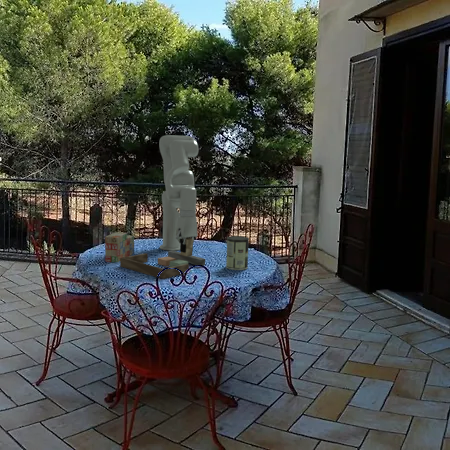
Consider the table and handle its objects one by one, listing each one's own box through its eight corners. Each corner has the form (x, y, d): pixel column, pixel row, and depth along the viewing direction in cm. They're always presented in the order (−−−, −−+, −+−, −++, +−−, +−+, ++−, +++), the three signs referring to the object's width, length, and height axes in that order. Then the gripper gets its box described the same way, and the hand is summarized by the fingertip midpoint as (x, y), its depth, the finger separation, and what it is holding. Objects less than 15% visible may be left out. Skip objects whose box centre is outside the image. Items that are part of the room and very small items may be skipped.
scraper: (173, 256, 248) (173, 234, 246) (205, 264, 234) (206, 241, 232) (167, 257, 245) (167, 235, 243) (200, 266, 231) (200, 243, 229)
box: (145, 261, 238) (146, 253, 238) (188, 272, 220) (188, 264, 220) (120, 266, 227) (120, 257, 226) (163, 279, 209) (163, 269, 208)
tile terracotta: (167, 262, 239) (167, 256, 239) (175, 265, 235) (176, 258, 234) (157, 264, 235) (157, 258, 234) (165, 266, 231) (165, 260, 230)
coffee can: (237, 263, 241) (238, 235, 239) (252, 268, 233) (253, 238, 231) (221, 266, 234) (222, 237, 232) (236, 271, 226) (237, 240, 224)
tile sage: (178, 265, 234) (178, 259, 234) (188, 267, 230) (188, 261, 230) (169, 267, 229) (169, 261, 229) (179, 270, 226) (179, 263, 225)
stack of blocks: (122, 252, 256) (122, 229, 254) (134, 253, 255) (134, 229, 253) (105, 261, 235) (105, 236, 233) (117, 263, 234) (117, 237, 232)
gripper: (194, 210, 244) (193, 247, 247) (169, 213, 232) (168, 252, 235) (205, 212, 240) (204, 250, 243) (180, 216, 227) (179, 255, 230)
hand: (186, 250), depth 239 cm, fingers closed on scraper, 4 cm apart
